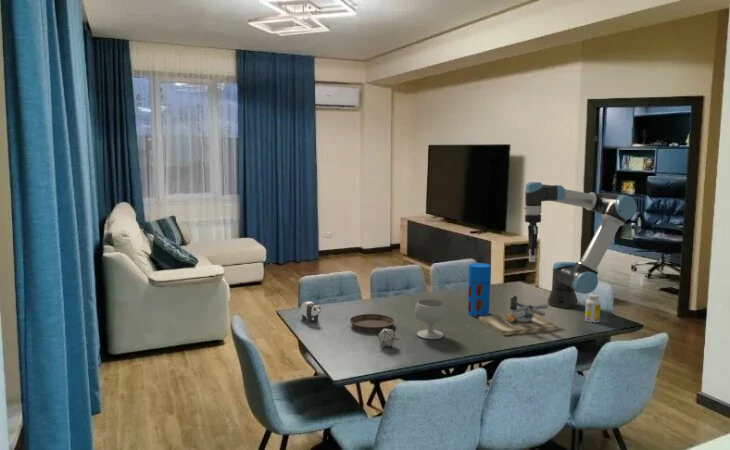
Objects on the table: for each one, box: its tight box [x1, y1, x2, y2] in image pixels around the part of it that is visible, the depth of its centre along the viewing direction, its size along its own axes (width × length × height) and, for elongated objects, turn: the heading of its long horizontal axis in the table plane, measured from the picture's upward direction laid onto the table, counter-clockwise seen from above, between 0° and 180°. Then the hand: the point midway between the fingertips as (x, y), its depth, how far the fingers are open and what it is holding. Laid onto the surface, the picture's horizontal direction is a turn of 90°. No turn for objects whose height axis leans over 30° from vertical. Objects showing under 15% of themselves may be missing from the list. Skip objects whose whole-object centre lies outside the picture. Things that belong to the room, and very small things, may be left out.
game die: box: [375, 327, 399, 349], centre depth 229 cm, size 9×8×10 cm
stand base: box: [478, 313, 558, 336], centre depth 258 cm, size 28×22×2 cm
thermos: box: [466, 262, 492, 318], centre depth 274 cm, size 11×11×25 cm
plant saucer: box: [349, 313, 395, 333], centre depth 255 cm, size 21×21×3 cm
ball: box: [507, 315, 515, 322], centre depth 255 cm, size 4×4×4 cm
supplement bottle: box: [584, 293, 602, 324], centre depth 265 cm, size 7×7×13 cm
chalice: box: [414, 298, 448, 340], centre depth 242 cm, size 14×14×15 cm
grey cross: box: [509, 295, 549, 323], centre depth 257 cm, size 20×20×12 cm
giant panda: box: [300, 301, 322, 324], centre depth 261 cm, size 15×6×10 cm, turn 33°
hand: (532, 261), depth 270 cm, fingers closed
